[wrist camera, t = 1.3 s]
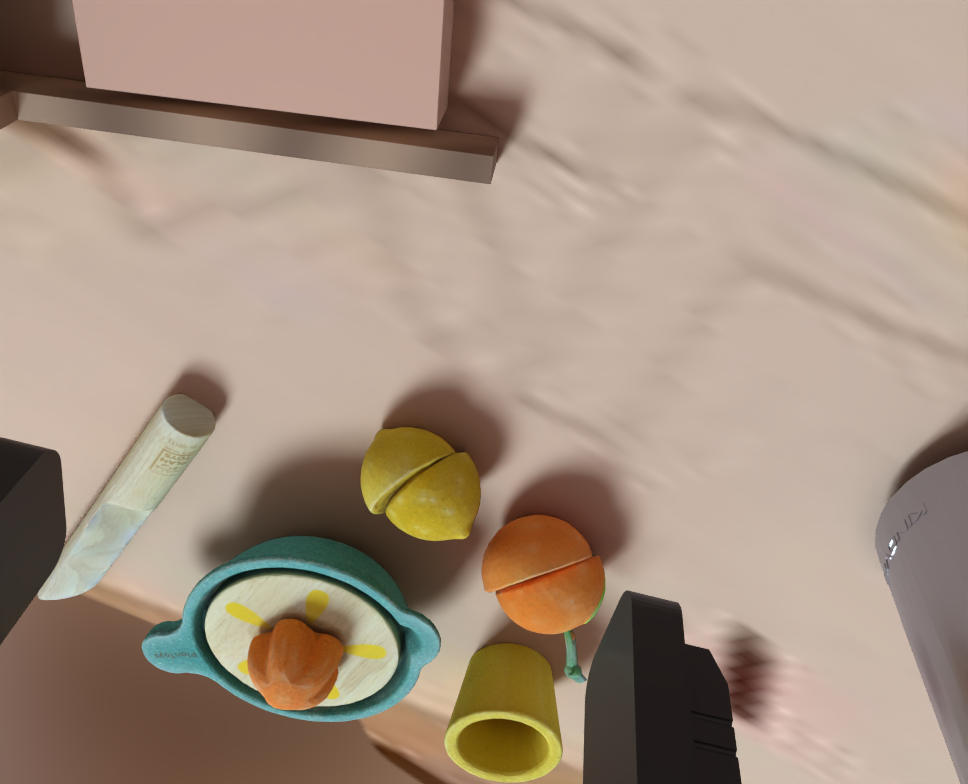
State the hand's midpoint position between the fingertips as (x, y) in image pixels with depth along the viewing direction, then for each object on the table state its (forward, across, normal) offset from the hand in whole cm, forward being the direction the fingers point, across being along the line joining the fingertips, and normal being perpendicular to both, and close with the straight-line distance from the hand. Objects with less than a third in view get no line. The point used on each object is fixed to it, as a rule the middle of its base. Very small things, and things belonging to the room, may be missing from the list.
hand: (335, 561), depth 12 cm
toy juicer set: (+24, +3, +23) cm, 33 cm away
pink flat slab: (+23, +8, -2) cm, 25 cm away
